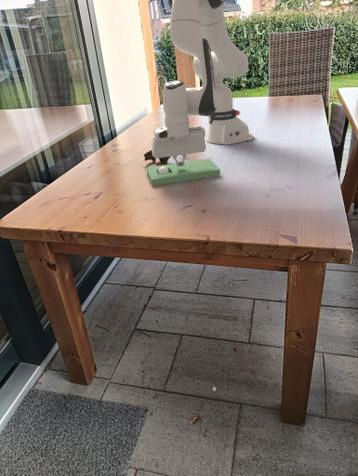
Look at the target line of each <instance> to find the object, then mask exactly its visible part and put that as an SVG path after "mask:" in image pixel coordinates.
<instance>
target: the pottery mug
mask: <svg viewBox="0 0 358 476" xmlns="http://www.w3.org/2000/svg"><path fill="white" fill-rule="evenodd" d="M143 157H144V161H145V162H147V161H152V162H154V163H155V162H156V160H157V158H155V157H154V156H153V155H152V149H151V150H149V151H147V152H146V153H144V154H143ZM171 157H172V156H170V157H162V158H158V160H159V161H158V162H156V163H155V166H161V165H168V164H169V163H168V162H169V159H171Z"/></svg>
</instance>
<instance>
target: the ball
mask: <svg viewBox="0 0 358 476" xmlns="http://www.w3.org/2000/svg"><path fill="white" fill-rule="evenodd" d="M166 173H169V171H168V169H167V168H166V167H161V168H160V169H159V170H158V174H166Z"/></svg>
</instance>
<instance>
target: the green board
mask: <svg viewBox="0 0 358 476" xmlns="http://www.w3.org/2000/svg"><path fill="white" fill-rule="evenodd" d="M161 167H166V168H167V169H168V171H169V173H166V174H158V170H159V169H160V168H161ZM146 174H147V177H148V179H149V181H150V184H151V186H152V187H157V186H162V185H169V184H176V183H181V182H189V181H197V180H201V179H203V180H204V179H208V178H215V177H216V178H217V177H221V170H220V168H219V167H218V166H217V164H216V163H215V162H213V160H212V159H211V158H203V159H197V160H191V161H184V166H178V167H177V166H176V162H175V163H168V165H161V166H157V165H155V166H148V167H146Z"/></svg>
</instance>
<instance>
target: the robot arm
mask: <svg viewBox="0 0 358 476" xmlns="http://www.w3.org/2000/svg"><path fill="white" fill-rule="evenodd" d="M224 2H225V0H167V3H168V6H169V9H170V23H169V24H170V26H169V28H170V29H169V34H170V41H171V43H172V44H173V46H174V47H175V48H176V49H177V50H178V51H180V52H182V53H184V54H185V55H188V56H191V57H194V59H193V62H192V70H193V72H194V74H195V75H196V76H197V77H198V78H199V80H201V82H202V85H201V86H199V87H187V86H186V83H185V81H183V80H172V81H168V82H166V83H164V84H163V89H162V105H163V107H162V109H163V112H164V117H165V118H164V124H163V125H161V126H158V127H157V128H155V129H153V130H152V131H153V137H152V141H151V150H152V155H153V156H154V157H155V158H156V159H159V158H162V157H170V156H171V157H172V159H173V160H174V161H175V163H176V166H177V167H178V166H184V162H186V159H187V158H188V157H187V155H190V154H197V153H203V152H205V151H206V150H207V149H206V148H207V147H206V145H207V144H206V142H208V143H211V144H216V145H217V144H218V145H225V146H228V145H232V144H236V143H237V144H238V143H243V142H246V141H247V140H248V141H252V140H254V139H253V138H254V135H253V134H252V132H250V131H249V130H250V129H249V126H248V125H247V123H246V122H245V121H243V120H241V118H239V117H237V116H239V115H240V114H241V112H240V110H237V109H235V108H233V107H234V106H233V105H234V104H233V103H234V102H233V101H234V99H233V95H234V94H233V91H232V90H231V88H230V87H228V86H226V85H225V84H224V81H223V79H234V78H239V77H243V76H244V75H245V74H246V72H247V71H248V68H249V60H248V56H247V55H246V53H245V52H244V51H242V49H241V50H240V49H239V48H238V47H237V46H236V45H235V43H233V41H232V39H231V38H230V36H229V32H228V29H227V24H226V23H227V22H226V20H225V19H226V18H225V14H224V9H223V4H224ZM189 116H202V117H207V121H208V133H207V138H206V140H205V137H206V129H205V128H204V127H202V126H196V127H194V126H193V127H190V118H189ZM248 141H247V142H248ZM178 156H182V158H181V160H177V159H178ZM171 157H170V158H171Z"/></svg>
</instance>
